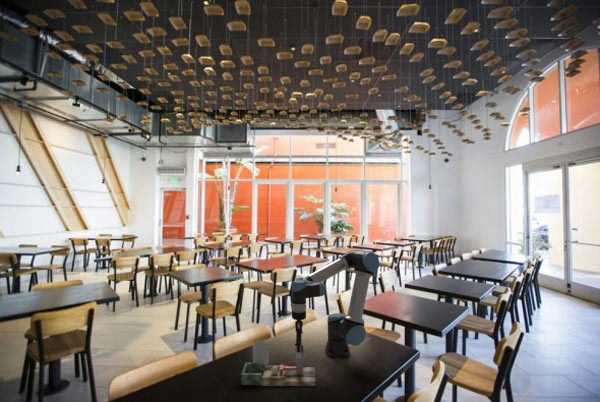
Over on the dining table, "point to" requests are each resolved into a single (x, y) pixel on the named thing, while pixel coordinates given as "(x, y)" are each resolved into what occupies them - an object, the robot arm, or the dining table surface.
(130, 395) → the dining table surface
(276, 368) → the ball
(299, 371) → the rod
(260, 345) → the mug
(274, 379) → the lane
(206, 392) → the dining table surface
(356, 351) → the dining table surface
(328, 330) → the robot arm
